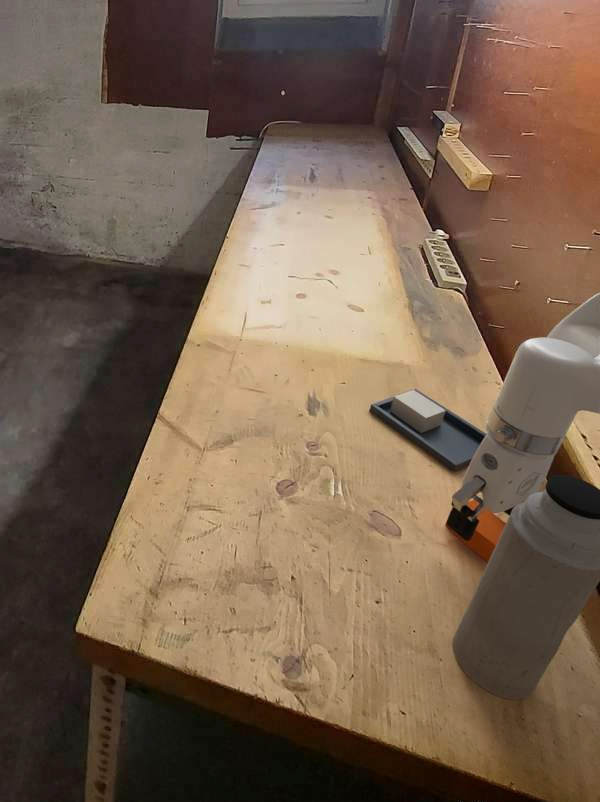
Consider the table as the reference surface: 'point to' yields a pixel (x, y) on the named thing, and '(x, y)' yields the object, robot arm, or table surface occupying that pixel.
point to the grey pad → (417, 411)
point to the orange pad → (484, 532)
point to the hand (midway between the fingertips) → (481, 521)
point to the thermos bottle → (532, 588)
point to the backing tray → (437, 435)
